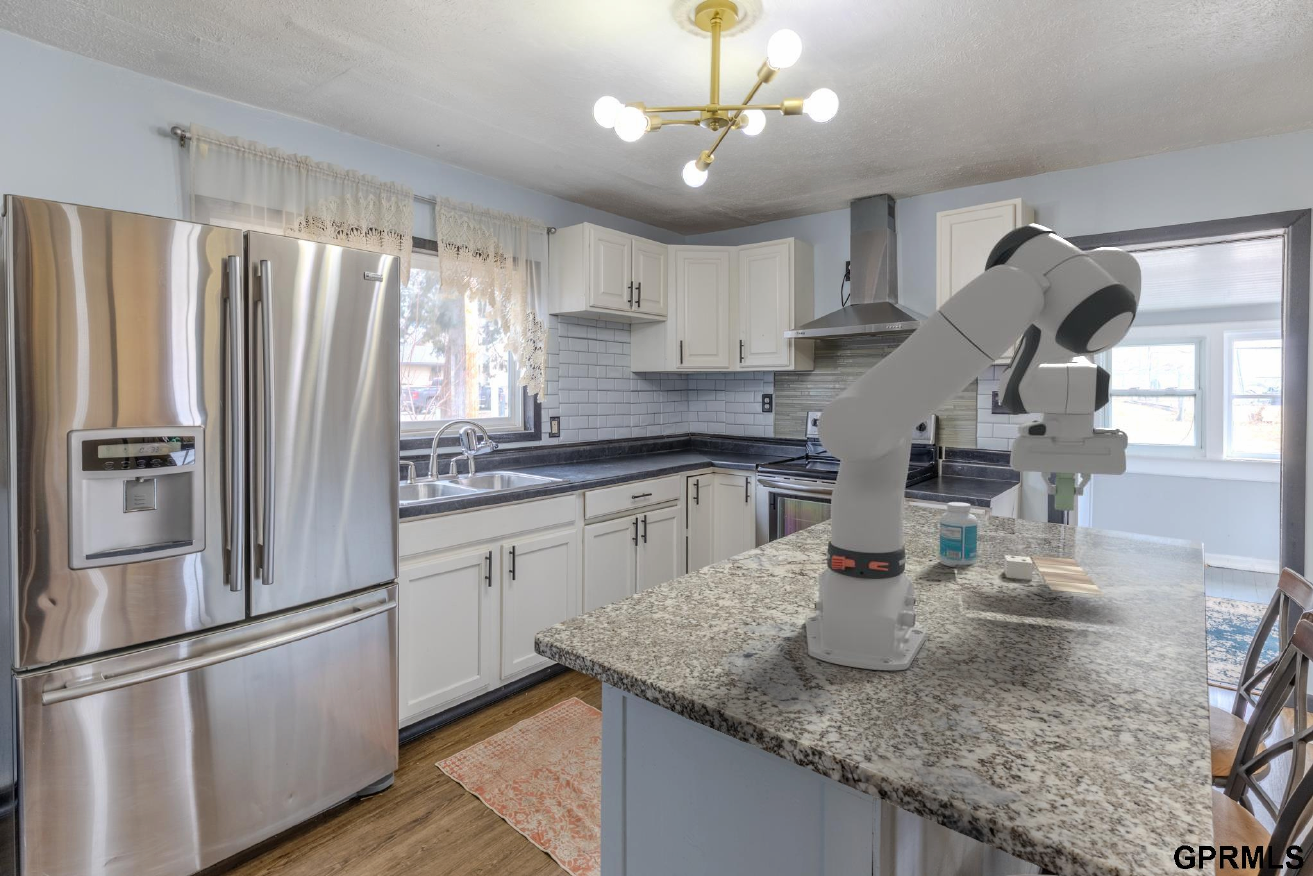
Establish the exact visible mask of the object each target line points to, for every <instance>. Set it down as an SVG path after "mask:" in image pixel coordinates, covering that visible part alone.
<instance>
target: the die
mask: <svg viewBox="0 0 1313 876" xmlns="http://www.w3.org/2000/svg"><path fill="white" fill-rule="evenodd" d="M1003 561H1004V564H1003V566H1004V568H1003V572H1004V575H1005V578H1010V579H1019V580H1030V581H1032V580H1033V569H1034V568H1033V567H1034V565H1033V564H1034V563H1033V562H1034V561H1033V560H1032V559H1030V557H1029V556H1022V555H1018V556H1017V555H1009V554H1005V555H1004V560H1003Z"/></svg>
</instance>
